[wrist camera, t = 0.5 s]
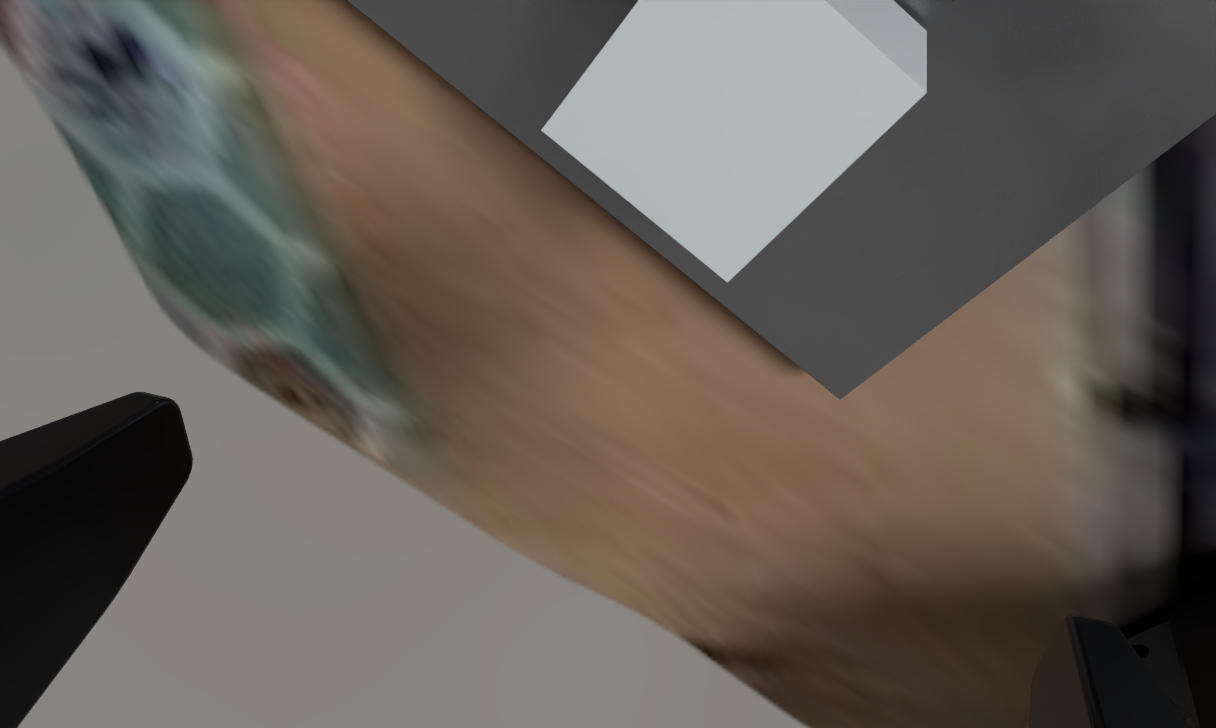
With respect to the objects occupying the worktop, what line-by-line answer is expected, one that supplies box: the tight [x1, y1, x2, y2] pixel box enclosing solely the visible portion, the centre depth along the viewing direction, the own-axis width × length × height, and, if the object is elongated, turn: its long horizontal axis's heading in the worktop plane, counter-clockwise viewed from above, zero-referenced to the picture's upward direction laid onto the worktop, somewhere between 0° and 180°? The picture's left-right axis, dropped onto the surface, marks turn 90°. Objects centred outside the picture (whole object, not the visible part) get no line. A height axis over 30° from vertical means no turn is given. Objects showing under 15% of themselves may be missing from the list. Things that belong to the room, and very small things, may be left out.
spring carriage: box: [541, 0, 927, 282], centre depth 15 cm, size 4×7×3 cm, turn 144°
